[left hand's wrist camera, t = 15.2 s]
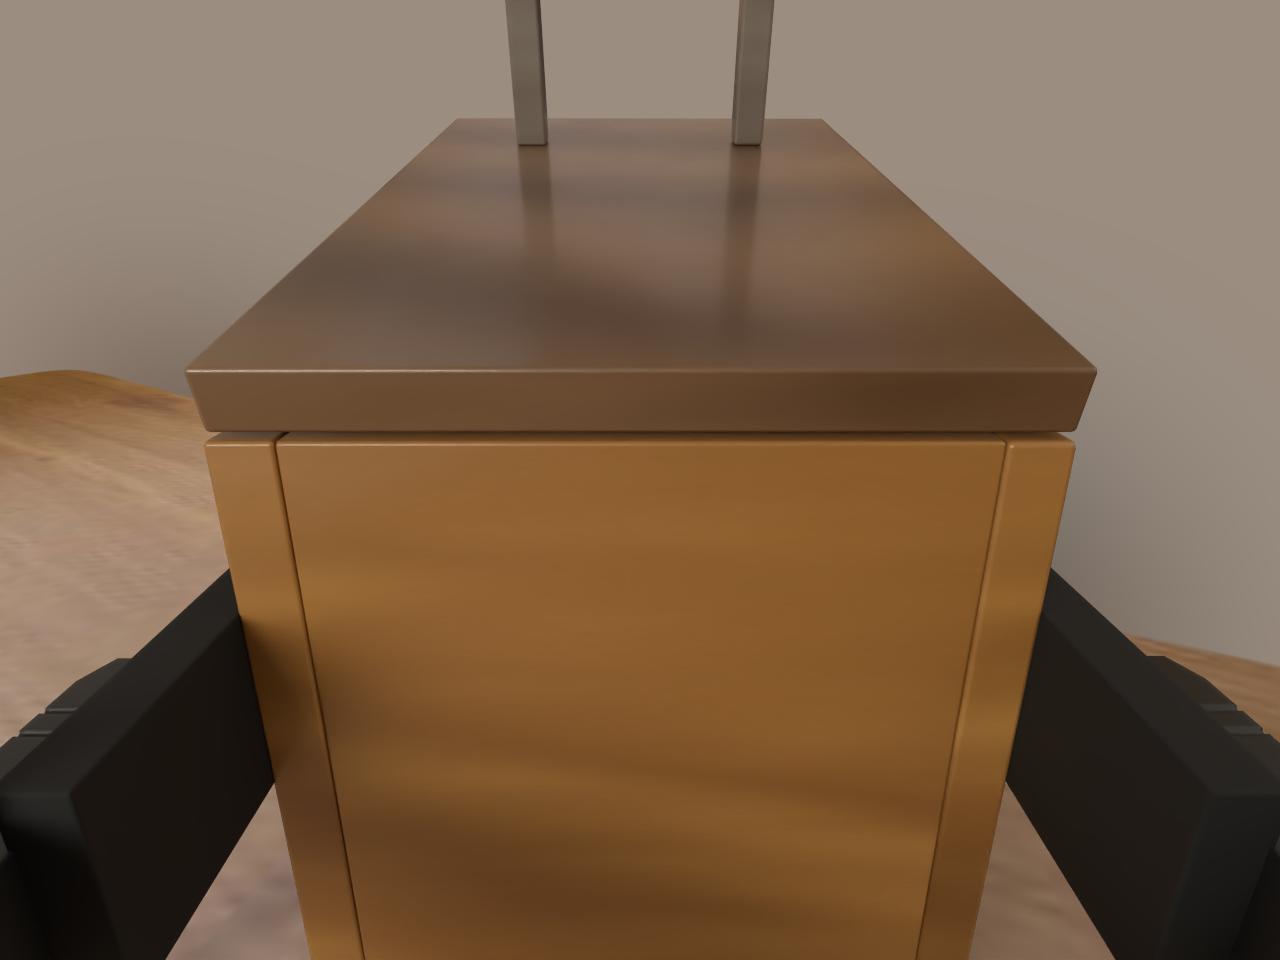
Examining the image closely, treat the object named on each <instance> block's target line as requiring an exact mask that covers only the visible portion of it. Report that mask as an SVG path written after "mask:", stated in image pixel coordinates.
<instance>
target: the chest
mask: <svg viewBox="0 0 1280 960" xmlns="http://www.w3.org/2000/svg"><path fill="white" fill-rule="evenodd" d="M204 448H205V452H206V457H207V462H208V467H209V472H210V476H211V481H212V486H213V491H214V496H215V500H216V505H217V510H218V515H219V519H220V524H221V529H222V534H223V539H224V543H225V548H226V553H227V558H228V563H229V567H230V572H231V577H232V582H233V587H234V591H235V596H236V601H237V606H238V610H239V615H240V620H241V625H242V630H243V634H244V639H245V644H246V649H247V654H248V658H249V663H250V668H251V673H252V678H253V682H254V687H255V692H256V697H257V702H258V706H259V711H260V716H261V721H262V725H263V730H264V735H265V740H266V745H267V749H268V754H269V759H270V764H271V769H272V773H273V778H274V783H275V788H276V793H277V797H278V802H279V807H280V812H281V817H282V821H283V826H284V831H285V836H286V840H287V845H288V850H289V855H290V860H291V864H292V869H293V874H294V879H295V884H296V888H297V893H298V898H299V903H300V908H301V912H302V917H303V922H304V927H305V931H306V936H307V941H308V946H309V951H310V955H311V960H968V958H969V953H970V948H971V943H972V939H973V934H974V929H975V924H976V920H977V915H978V910H979V905H980V901H981V896H982V891H983V886H984V882H985V877H986V872H987V867H988V862H989V858H990V853H991V848H992V843H993V839H994V834H995V829H996V824H997V820H998V815H999V810H1000V805H1001V801H1002V796H1003V791H1004V786H1005V782H1006V777H1007V772H1008V767H1009V763H1010V758H1011V753H1012V748H1013V744H1014V739H1015V734H1016V729H1017V725H1018V720H1019V715H1020V710H1021V706H1022V701H1023V696H1024V691H1025V687H1026V682H1027V677H1028V672H1029V668H1030V663H1031V658H1032V653H1033V649H1034V644H1035V639H1036V634H1037V629H1038V625H1039V620H1040V615H1041V610H1042V606H1043V601H1044V596H1045V591H1046V587H1047V582H1048V577H1049V572H1050V568H1051V563H1052V558H1053V553H1054V549H1055V544H1056V539H1057V534H1058V530H1059V525H1060V520H1061V515H1062V511H1063V506H1064V501H1065V496H1066V492H1067V487H1068V482H1069V477H1070V473H1071V468H1072V463H1073V458H1074V453H1075V443H1074V442H1073V441H1072V440H1070V439H1068V438H1067V437H1065V436H1063V435H1061V434H1060V433H1058V432H221V433H219V434H218V435H216V436H214V437H213V438H211V439H209V440H207V441H206V442H205V445H204Z"/></svg>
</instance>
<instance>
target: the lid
mask: <svg viewBox="0 0 1280 960" xmlns="http://www.w3.org/2000/svg"><path fill="white" fill-rule="evenodd" d="M505 3H506V15H507V27H508V39H509V52H510V64H511V76H512V88H513V100H514V112H515V119H457V120H455V121H454V122H453V123H452V124H451V125H450V126H449V127H448V128H447V129H446V130H445V131H443V132H442V133H441V134H440V135H439V136H438V137H437V138H436V139H435V140H434V141H433V142H431V143H430V144H429V145H428V146H427V147H426V148H425V149H424V150H423V151H422V152H420V153H419V154H418V155H417V156H416V157H415V158H414V159H413V160H412V161H411V162H410V163H408V164H407V165H406V166H405V167H404V168H403V169H402V170H401V171H400V172H399V173H397V174H396V175H395V176H394V177H393V178H392V179H391V180H390V181H389V182H388V183H386V184H385V185H384V186H383V187H382V188H381V189H380V190H379V191H378V192H377V193H376V194H374V195H373V196H372V197H371V198H370V199H369V200H368V201H367V202H366V203H365V204H364V205H362V206H361V207H360V208H359V209H358V210H357V211H356V212H355V213H354V214H353V215H352V216H350V217H349V218H348V219H347V220H346V221H345V222H344V223H343V224H342V225H341V226H339V227H338V228H337V229H336V230H335V231H334V232H333V233H332V234H331V235H330V236H329V237H327V238H326V239H325V240H324V241H323V242H322V243H321V244H320V245H319V246H318V247H317V248H315V249H314V250H313V251H312V252H311V253H310V254H309V255H308V256H307V257H306V258H305V259H303V260H302V261H301V262H300V263H299V264H298V265H297V266H296V267H295V268H293V269H292V270H291V271H290V272H289V273H288V274H287V275H286V276H285V277H284V278H283V279H281V280H280V281H279V282H278V283H277V284H276V285H275V286H274V287H273V288H272V289H271V290H269V291H268V292H267V293H266V294H265V295H264V296H263V297H262V298H261V299H260V300H259V301H257V302H256V303H255V304H254V305H253V306H252V307H251V308H250V309H249V310H248V311H246V312H245V313H244V314H243V315H242V316H241V317H240V318H239V319H238V320H237V321H236V322H234V323H233V324H232V325H231V326H230V327H229V328H228V329H227V330H226V331H225V332H223V333H222V334H221V335H220V336H219V337H218V338H217V339H216V340H215V341H214V342H213V343H212V344H210V345H209V346H208V347H207V348H206V349H205V350H204V351H203V352H202V353H201V354H199V355H198V356H197V357H196V358H195V359H194V360H193V361H192V362H191V363H190V364H188V365H187V366H186V367H185V376H186V378H187V381H188V384H189V387H190V389H191V392H192V395H193V397H194V400H195V403H196V406H197V408H198V411H199V414H200V417H201V419H202V422H203V425H204V427H205V429H206V430H207V431H209V432H1072V431H1075V430H1076V428H1077V426H1078V423H1079V420H1080V418H1081V415H1082V412H1083V410H1084V407H1085V404H1086V402H1087V399H1088V396H1089V393H1090V391H1091V388H1092V385H1093V383H1094V380H1095V377H1096V375H1097V368H1096V367H1095V366H1094V365H1093V364H1092V363H1091V362H1089V361H1088V360H1087V359H1086V358H1085V357H1084V356H1083V355H1082V354H1081V353H1080V352H1078V351H1077V350H1076V349H1075V348H1074V347H1073V346H1072V345H1071V344H1070V343H1068V342H1067V341H1066V340H1065V339H1064V338H1063V337H1062V336H1061V335H1060V334H1059V333H1057V332H1056V331H1055V330H1054V329H1053V328H1052V327H1051V326H1050V325H1049V324H1047V323H1046V322H1045V321H1044V320H1043V319H1042V318H1041V317H1040V316H1039V315H1038V314H1036V313H1035V312H1034V311H1033V310H1032V309H1031V308H1030V307H1029V306H1028V305H1026V304H1025V303H1024V302H1023V301H1022V300H1021V299H1020V298H1019V297H1018V296H1016V295H1015V294H1014V293H1013V292H1012V291H1011V290H1010V289H1009V288H1008V287H1007V286H1005V285H1004V284H1003V283H1002V282H1001V281H1000V280H999V279H998V278H997V277H996V276H994V275H993V274H992V273H991V272H990V271H989V270H988V269H987V268H986V267H984V266H983V265H982V264H981V263H980V262H979V261H978V260H977V259H976V258H975V257H973V256H972V255H971V254H970V253H969V252H968V251H967V250H966V249H965V248H963V247H962V246H961V245H960V244H959V243H958V242H957V241H956V240H955V239H953V238H952V237H951V236H950V235H949V234H948V233H947V232H946V231H945V230H944V229H942V228H941V227H940V226H939V225H938V224H937V223H936V222H935V221H934V220H933V219H931V218H930V217H929V216H928V215H927V214H926V213H925V212H924V211H922V210H921V209H920V208H919V207H918V206H917V205H916V204H915V203H914V202H913V201H912V200H910V199H909V198H908V197H907V196H906V195H905V194H904V193H903V192H902V191H900V190H899V189H898V188H897V187H896V186H895V185H894V184H893V183H892V182H891V181H889V180H888V179H887V178H886V177H885V176H884V175H883V174H882V173H881V172H879V171H878V170H877V169H876V168H875V167H874V166H873V165H872V164H871V163H870V162H868V161H867V160H866V159H865V158H864V157H863V156H862V155H861V154H860V153H858V152H857V151H856V150H855V149H854V148H853V147H852V146H851V145H850V144H848V143H847V142H846V141H845V140H844V139H843V138H842V137H841V136H840V135H838V134H837V133H836V132H835V131H834V130H833V129H832V128H831V127H830V126H829V125H828V124H826V123H825V122H824V121H823V120H822V119H764V116H765V104H766V92H767V80H768V68H769V56H770V45H771V33H772V21H773V9H774V0H740V3H739V19H738V35H737V51H736V67H735V83H734V99H733V114H732V119H547V106H546V90H545V73H544V58H543V41H542V24H541V8H540V0H505Z"/></svg>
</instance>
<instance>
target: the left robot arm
mask: <svg viewBox="0 0 1280 960" xmlns="http://www.w3.org/2000/svg"><path fill="white" fill-rule="evenodd" d="M1236 707H1237V706H1236V705H1235V704H1234V703H1233V702H1232V701H1231V700H1229V699H1228V698H1227V697H1226V696H1225V695H1224V694H1223V693H1221V692H1220V691H1219V690H1218V689H1217V688H1216V687H1215V686H1213V685H1212V684H1211V683H1210V682H1209V681H1208V680H1206V679H1205V678H1203V677H1201V676H1200V675H1198V674H1196V673H1194V672H1192V671H1190V670H1189V669H1187V668H1185V667H1183V666H1181V665H1180V664H1178V663H1176V662H1174V661H1172V660H1170V659H1169V658H1167V657H1165V656H1146V655H1145V654H1144V653H1143V652H1142V651H1141V650H1140V649H1138V648H1137V647H1136V646H1135V645H1134V644H1133V643H1132V642H1131V641H1130V640H1129V639H1128V638H1127V637H1125V636H1124V635H1123V634H1122V633H1121V632H1120V631H1119V630H1118V629H1117V628H1116V627H1115V626H1114V625H1112V624H1111V623H1110V622H1109V621H1108V620H1107V619H1106V618H1105V617H1104V616H1103V615H1102V614H1101V613H1099V612H1098V611H1097V610H1096V609H1095V608H1094V607H1093V606H1092V605H1091V604H1090V603H1089V602H1088V601H1086V600H1085V599H1084V598H1083V597H1082V596H1081V595H1080V594H1079V593H1078V592H1077V591H1076V590H1075V589H1073V588H1072V587H1071V586H1070V585H1069V584H1068V583H1067V582H1066V581H1065V580H1064V579H1063V578H1062V577H1060V576H1059V575H1058V574H1057V573H1056V572H1055V571H1054V570H1053V569H1052V568H1050V572H1049V577H1048V582H1047V587H1046V591H1045V596H1044V601H1043V606H1042V610H1041V615H1040V620H1039V625H1038V629H1037V634H1036V639H1035V644H1034V649H1033V653H1032V658H1031V663H1030V668H1029V672H1028V677H1027V682H1026V687H1025V691H1024V696H1023V701H1022V706H1021V710H1020V715H1019V720H1018V725H1017V729H1016V734H1015V739H1014V744H1013V748H1012V753H1011V758H1010V763H1009V767H1008V772H1007V777H1006V782H1007V784H1008V786H1009V787H1010V789H1011V791H1012V792H1013V794H1014V795H1015V797H1016V799H1017V800H1018V802H1019V804H1020V805H1021V807H1022V808H1023V810H1024V812H1025V813H1026V815H1027V817H1028V818H1029V820H1030V821H1031V823H1032V825H1033V826H1034V828H1035V830H1036V831H1037V833H1038V834H1039V836H1040V838H1041V839H1042V841H1043V843H1044V844H1045V846H1046V847H1047V849H1048V851H1049V852H1050V854H1051V856H1052V857H1053V859H1054V860H1055V862H1056V864H1057V865H1058V867H1059V869H1060V870H1061V872H1062V873H1063V875H1064V877H1065V878H1066V880H1067V882H1068V883H1069V885H1070V886H1071V888H1072V890H1073V891H1074V893H1075V895H1076V896H1077V898H1078V899H1079V901H1080V903H1081V904H1082V906H1083V908H1084V909H1085V911H1086V912H1087V914H1088V916H1089V917H1090V919H1091V921H1092V922H1093V924H1094V925H1095V927H1096V929H1097V930H1098V932H1099V934H1100V935H1101V937H1102V938H1103V940H1104V942H1105V943H1106V945H1107V947H1108V948H1109V950H1110V951H1111V953H1112V955H1113V956H1114V958H1115V960H1280V743H1279V742H1278V741H1277V740H1276V739H1274V738H1273V737H1272V736H1271V735H1270V734H1264V733H1263V731H1262V730H1263V728H1262V727H1261V726H1259V725H1258V724H1257V723H1256V722H1255V721H1254V720H1253V719H1251V718H1250V717H1249V716H1248V715H1247V714H1246V713H1244V712H1243V711H1237V708H1236ZM45 710H46V711H45V713H44V714H38V715H37V716H36V717H35V718H34V719H33V720H31V721H30V722H29V723H28V724H27V725H26V726H25V727H23V728H22V729H21V730H20V734H19V736H18V737H12V738H11V739H10V740H9V741H7V742H6V743H5V744H4V745H3V746H2V747H1V748H0V960H165V959H166V958H167V956H168V954H169V953H170V951H171V950H172V948H173V946H174V945H175V943H176V941H177V940H178V938H179V937H180V935H181V933H182V932H183V930H184V928H185V927H186V925H187V924H188V922H189V920H190V919H191V917H192V915H193V914H194V912H195V911H196V909H197V907H198V906H199V904H200V902H201V901H202V899H203V898H204V896H205V894H206V893H207V891H208V889H209V888H210V886H211V885H212V883H213V881H214V880H215V878H216V876H217V875H218V873H219V872H220V870H221V868H222V867H223V865H224V863H225V862H226V860H227V859H228V857H229V855H230V854H231V852H232V850H233V849H234V847H235V846H236V844H237V842H238V841H239V839H240V837H241V836H242V834H243V833H244V831H245V829H246V828H247V826H248V824H249V823H250V821H251V820H252V818H253V816H254V815H255V813H256V811H257V810H258V808H259V807H260V805H261V803H262V802H263V800H264V798H265V797H266V795H267V794H268V792H269V790H270V789H271V787H272V785H273V784H274V778H273V773H272V769H271V764H270V759H269V754H268V749H267V745H266V740H265V735H264V730H263V725H262V721H261V716H260V711H259V706H258V702H257V697H256V692H255V687H254V682H253V678H252V673H251V668H250V663H249V658H248V654H247V649H246V644H245V639H244V634H243V630H242V625H241V620H240V615H239V610H238V606H237V601H236V596H235V591H234V587H233V582H232V577H231V572H230V568H229V569H228V570H227V571H226V572H225V573H224V574H222V575H221V576H220V577H219V578H218V579H217V580H216V581H215V582H214V583H213V584H212V585H211V586H209V587H208V588H207V589H206V590H205V591H204V592H203V593H202V594H201V595H200V596H199V597H198V598H197V599H195V600H194V601H193V602H192V603H191V604H190V605H189V606H188V607H187V608H186V609H185V610H184V611H182V612H181V613H180V614H179V615H178V616H177V617H176V618H175V619H174V620H173V621H172V622H171V623H169V624H168V625H167V626H166V627H165V628H164V629H163V630H162V631H161V632H160V633H159V634H158V635H157V636H155V637H154V638H153V639H152V640H151V641H150V642H149V643H148V644H147V645H146V646H145V647H144V648H142V649H141V650H140V651H139V652H138V653H137V654H136V655H135V656H134V657H133V658H118V659H116V660H114V661H112V662H110V663H109V664H107V665H105V666H103V667H101V668H100V669H98V670H96V671H94V672H92V673H90V674H89V675H87V676H85V677H83V678H81V679H80V680H78V681H76V682H75V683H74V684H73V685H71V686H70V687H69V688H68V689H67V690H66V691H65V692H63V693H62V694H61V695H60V696H59V697H58V698H57V699H55V700H54V701H53V702H52V703H51V704H50V705H49V706H47V707H46V708H45Z"/></svg>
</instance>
